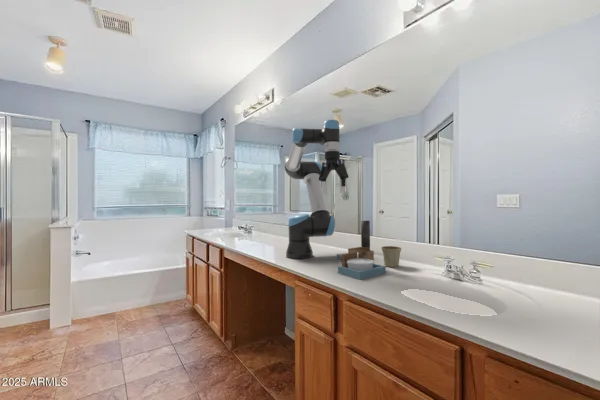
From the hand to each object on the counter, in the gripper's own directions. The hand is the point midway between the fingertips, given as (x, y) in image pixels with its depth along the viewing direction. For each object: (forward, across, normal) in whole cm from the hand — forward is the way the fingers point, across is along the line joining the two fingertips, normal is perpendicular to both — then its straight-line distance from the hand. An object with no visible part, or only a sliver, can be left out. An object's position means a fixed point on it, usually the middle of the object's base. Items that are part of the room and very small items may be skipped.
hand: (333, 193), depth 147 cm
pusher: (+34, +16, 0) cm, 38 cm away
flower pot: (+35, +22, +16) cm, 44 cm away
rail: (+35, +6, +6) cm, 36 cm away
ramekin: (+35, +22, -4) cm, 42 cm away
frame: (+35, +22, -4) cm, 42 cm away
